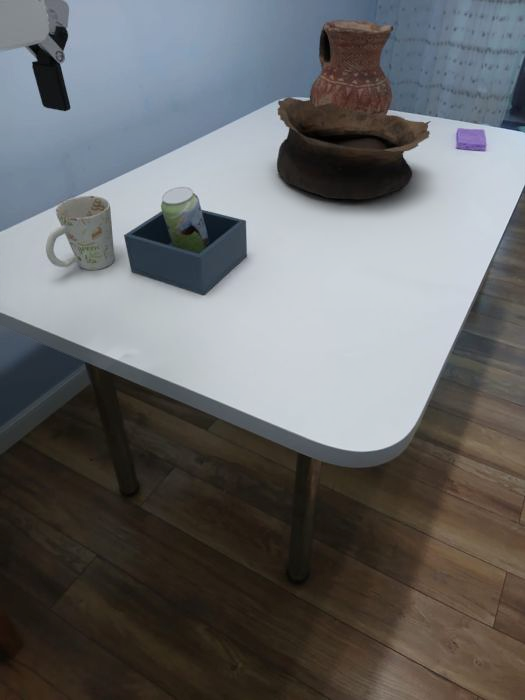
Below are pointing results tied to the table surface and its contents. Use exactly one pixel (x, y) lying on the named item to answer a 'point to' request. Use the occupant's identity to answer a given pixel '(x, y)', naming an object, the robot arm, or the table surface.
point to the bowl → (345, 150)
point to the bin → (187, 252)
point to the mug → (84, 232)
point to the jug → (353, 67)
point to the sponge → (471, 139)
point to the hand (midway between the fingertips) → (17, 122)
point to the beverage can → (185, 220)
